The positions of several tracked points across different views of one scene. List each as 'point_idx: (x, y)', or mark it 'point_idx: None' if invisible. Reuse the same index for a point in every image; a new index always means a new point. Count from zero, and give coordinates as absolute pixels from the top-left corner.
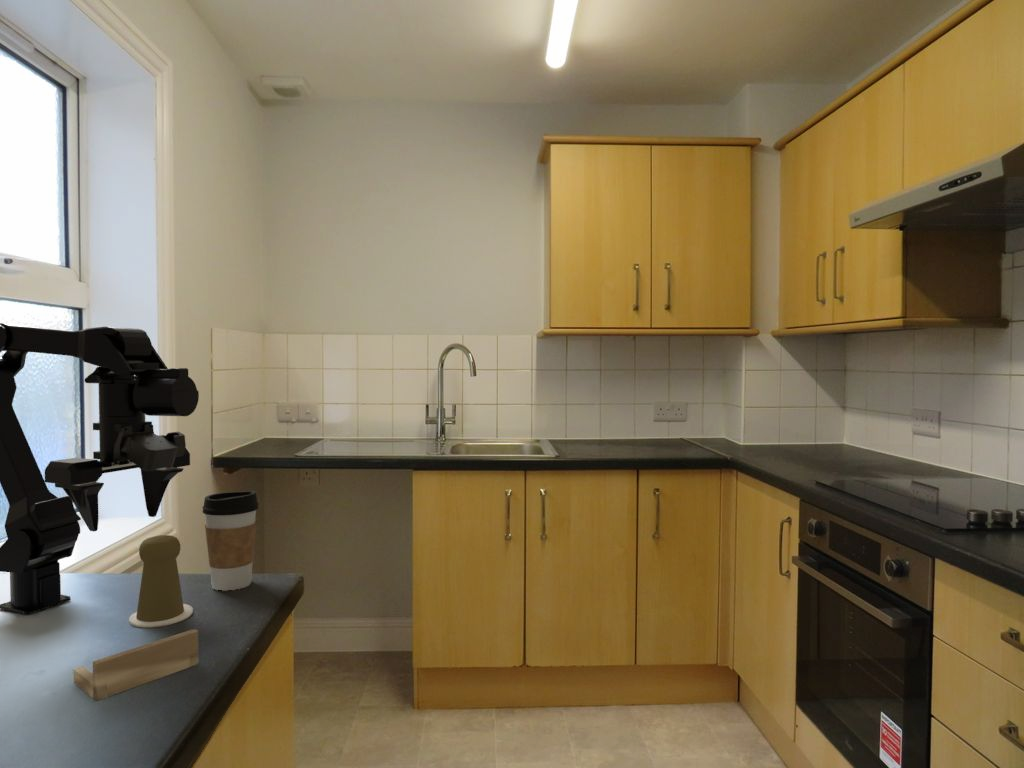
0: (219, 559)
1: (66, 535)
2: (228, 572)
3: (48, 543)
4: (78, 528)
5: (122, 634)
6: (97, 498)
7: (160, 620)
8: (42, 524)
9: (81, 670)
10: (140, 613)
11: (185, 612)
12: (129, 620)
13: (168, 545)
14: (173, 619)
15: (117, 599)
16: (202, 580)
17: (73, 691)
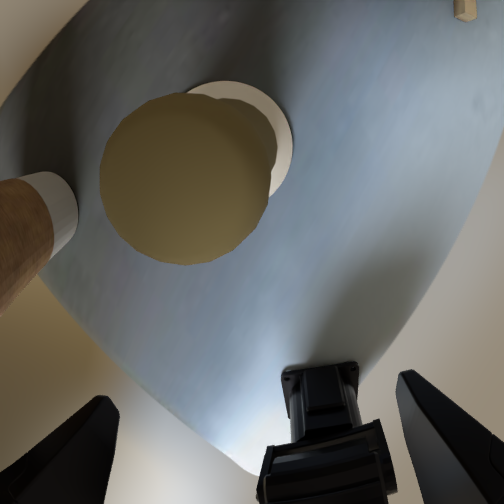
0: (32, 209)
1: (306, 472)
2: (40, 186)
3: (357, 455)
4: (270, 485)
5: (330, 122)
6: (490, 492)
7: (250, 104)
8: (375, 496)
9: (471, 3)
10: (275, 148)
11: None
12: (286, 173)
13: (175, 100)
14: (227, 89)
15: (228, 320)
16: (76, 281)
17: None
